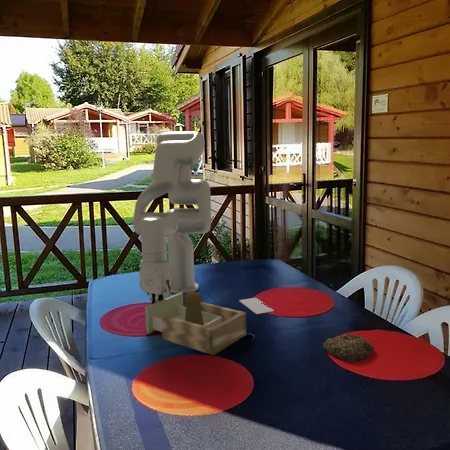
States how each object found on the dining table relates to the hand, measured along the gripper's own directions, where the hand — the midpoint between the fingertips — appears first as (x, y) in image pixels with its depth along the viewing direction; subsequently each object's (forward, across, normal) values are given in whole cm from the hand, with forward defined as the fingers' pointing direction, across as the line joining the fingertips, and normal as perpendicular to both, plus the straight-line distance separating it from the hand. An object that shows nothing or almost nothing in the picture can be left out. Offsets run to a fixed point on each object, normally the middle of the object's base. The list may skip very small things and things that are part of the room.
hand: (157, 312), depth 151 cm
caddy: (+4, +19, 0) cm, 19 cm away
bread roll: (+4, +58, +16) cm, 60 cm away
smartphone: (+4, +18, +30) cm, 35 cm away
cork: (+2, +15, 0) cm, 15 cm away
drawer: (+3, +12, 0) cm, 13 cm away
